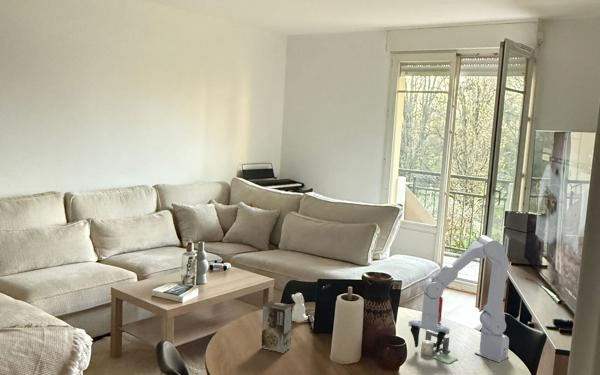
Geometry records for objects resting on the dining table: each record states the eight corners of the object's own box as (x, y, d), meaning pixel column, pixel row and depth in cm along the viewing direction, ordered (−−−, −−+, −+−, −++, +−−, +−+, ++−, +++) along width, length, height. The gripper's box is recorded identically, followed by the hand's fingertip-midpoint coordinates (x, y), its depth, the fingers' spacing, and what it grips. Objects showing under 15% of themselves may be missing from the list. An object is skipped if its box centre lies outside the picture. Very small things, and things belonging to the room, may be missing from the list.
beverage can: (439, 320, 237) (441, 293, 236) (441, 325, 231) (444, 297, 229) (424, 318, 238) (426, 291, 236) (426, 324, 231) (428, 296, 230)
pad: (457, 359, 197) (457, 358, 197) (448, 364, 193) (448, 363, 193) (442, 354, 201) (442, 353, 201) (433, 358, 197) (433, 357, 197)
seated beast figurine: (315, 321, 227) (316, 293, 225) (300, 326, 221) (302, 297, 219) (298, 315, 233) (300, 288, 232) (284, 320, 227) (285, 291, 226)
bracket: (450, 351, 204) (451, 336, 203) (443, 354, 201) (444, 338, 200) (429, 343, 210) (430, 328, 210) (422, 346, 207) (423, 331, 206)
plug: (445, 348, 206) (446, 338, 206) (426, 357, 198) (427, 346, 198) (436, 345, 209) (437, 335, 209) (416, 353, 201) (417, 342, 201)
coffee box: (291, 348, 199) (293, 304, 197) (283, 354, 193) (285, 310, 192) (268, 342, 203) (271, 300, 201) (260, 348, 197) (262, 305, 195)
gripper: (452, 313, 200) (449, 349, 201) (413, 305, 206) (410, 340, 208) (448, 319, 193) (445, 356, 195) (408, 311, 200) (405, 347, 201)
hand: (426, 348), depth 201 cm, fingers open, 7 cm apart
